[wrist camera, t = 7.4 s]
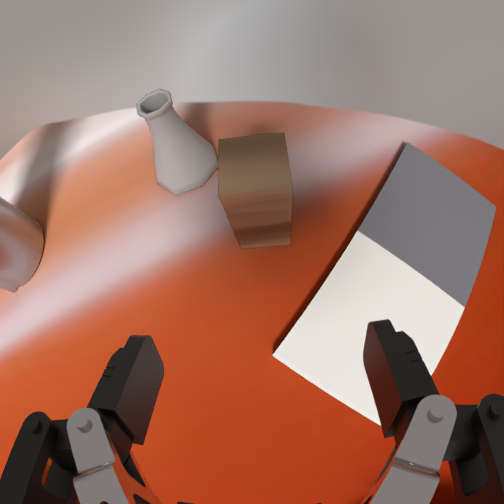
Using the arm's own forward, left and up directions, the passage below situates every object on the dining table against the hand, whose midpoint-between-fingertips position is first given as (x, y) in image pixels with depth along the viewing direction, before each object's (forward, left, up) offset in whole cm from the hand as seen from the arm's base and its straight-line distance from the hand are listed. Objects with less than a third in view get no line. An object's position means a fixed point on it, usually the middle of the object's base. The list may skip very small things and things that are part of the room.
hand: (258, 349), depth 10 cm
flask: (+9, +18, -15) cm, 25 cm away
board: (+12, -7, -14) cm, 20 cm away
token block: (+8, +7, -14) cm, 18 cm away
